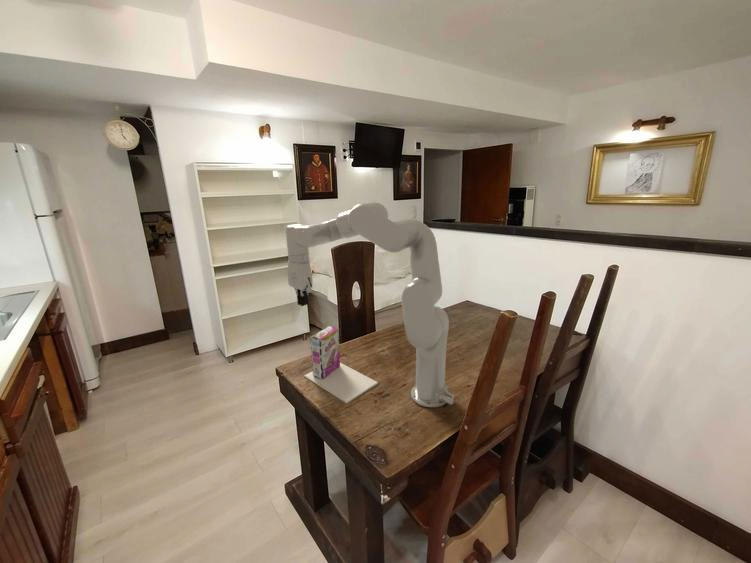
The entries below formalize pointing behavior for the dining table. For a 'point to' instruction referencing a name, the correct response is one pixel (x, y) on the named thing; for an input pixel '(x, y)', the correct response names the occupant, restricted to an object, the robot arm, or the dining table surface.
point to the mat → (344, 383)
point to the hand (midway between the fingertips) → (303, 304)
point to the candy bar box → (325, 352)
